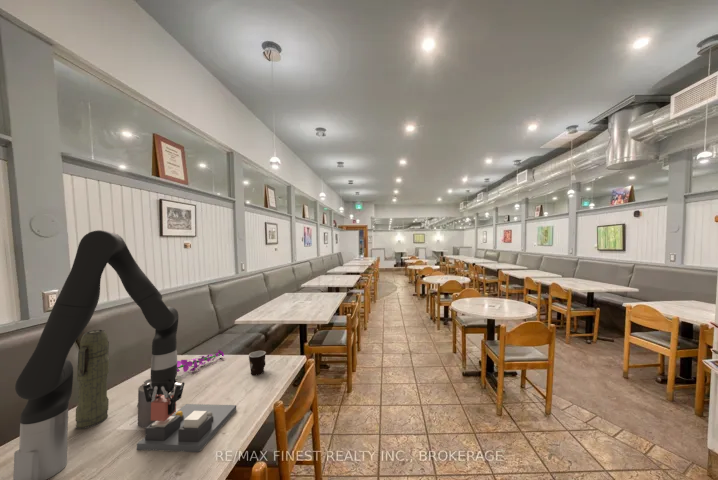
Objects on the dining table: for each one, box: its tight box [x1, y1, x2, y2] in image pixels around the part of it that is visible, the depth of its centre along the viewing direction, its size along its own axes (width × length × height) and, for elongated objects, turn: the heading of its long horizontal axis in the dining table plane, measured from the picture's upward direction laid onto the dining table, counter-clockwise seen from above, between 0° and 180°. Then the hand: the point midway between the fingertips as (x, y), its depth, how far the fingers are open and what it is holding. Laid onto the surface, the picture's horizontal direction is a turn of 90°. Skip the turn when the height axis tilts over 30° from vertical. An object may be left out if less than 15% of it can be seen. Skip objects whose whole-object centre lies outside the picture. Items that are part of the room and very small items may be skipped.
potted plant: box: [177, 349, 225, 373], centre depth 144 cm, size 12×16×35 cm
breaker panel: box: [136, 403, 237, 453], centre depth 95 cm, size 22×22×6 cm
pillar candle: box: [137, 381, 170, 428], centre depth 101 cm, size 10×10×15 cm
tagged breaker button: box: [151, 416, 175, 427], centre depth 90 cm, size 5×5×4 cm
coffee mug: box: [248, 350, 267, 376], centre depth 137 cm, size 12×9×10 cm
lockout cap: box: [151, 395, 177, 421], centre depth 90 cm, size 5×5×6 cm
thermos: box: [75, 329, 110, 430], centre depth 101 cm, size 9×12×35 cm
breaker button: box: [184, 411, 207, 428], centre depth 89 cm, size 5×5×4 cm
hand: (163, 413), depth 90 cm, fingers closed on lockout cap, 4 cm apart
